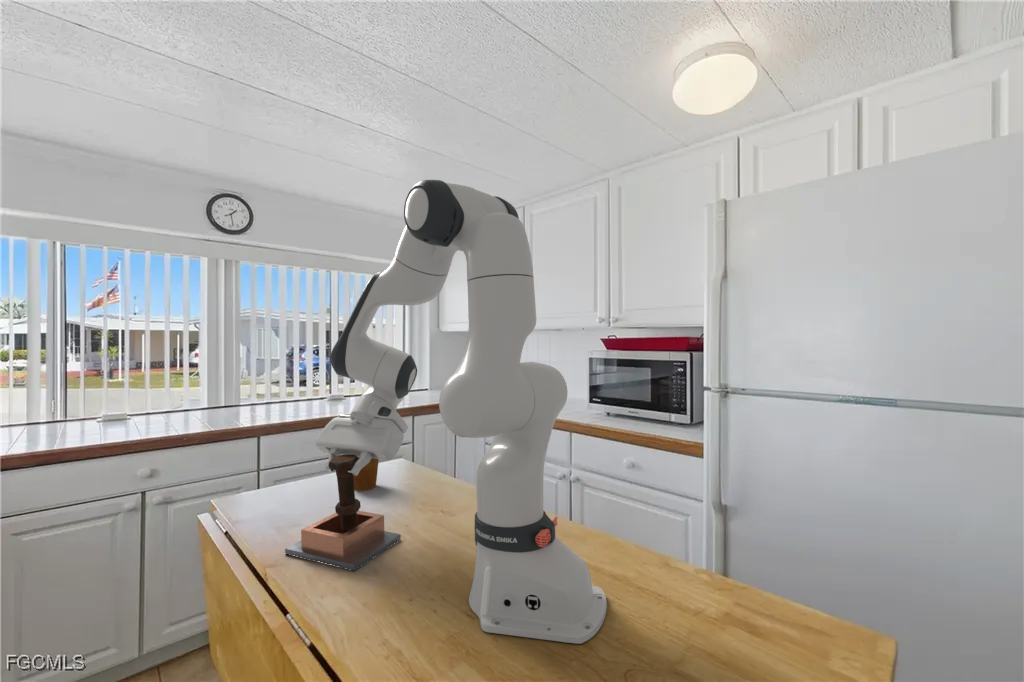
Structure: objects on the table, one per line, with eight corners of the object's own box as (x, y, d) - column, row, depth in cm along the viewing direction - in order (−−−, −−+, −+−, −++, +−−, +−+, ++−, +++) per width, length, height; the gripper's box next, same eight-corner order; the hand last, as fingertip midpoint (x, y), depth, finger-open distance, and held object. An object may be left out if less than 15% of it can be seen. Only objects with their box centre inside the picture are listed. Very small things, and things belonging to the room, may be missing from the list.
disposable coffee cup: (349, 495, 126) (347, 452, 126) (346, 485, 135) (345, 444, 135) (384, 489, 130) (383, 447, 130) (379, 480, 139) (378, 441, 139)
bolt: (354, 534, 93) (348, 463, 91) (331, 534, 93) (324, 463, 92) (367, 520, 98) (361, 453, 97) (345, 520, 99) (339, 453, 98)
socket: (400, 539, 98) (400, 515, 98) (354, 571, 85) (353, 543, 85) (336, 526, 105) (336, 504, 105) (285, 554, 92) (284, 529, 92)
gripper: (329, 406, 105) (294, 459, 96) (401, 411, 97) (371, 469, 88) (343, 421, 109) (312, 474, 101) (414, 427, 101) (386, 485, 93)
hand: (340, 472), depth 94 cm, fingers closed on bolt, 5 cm apart
